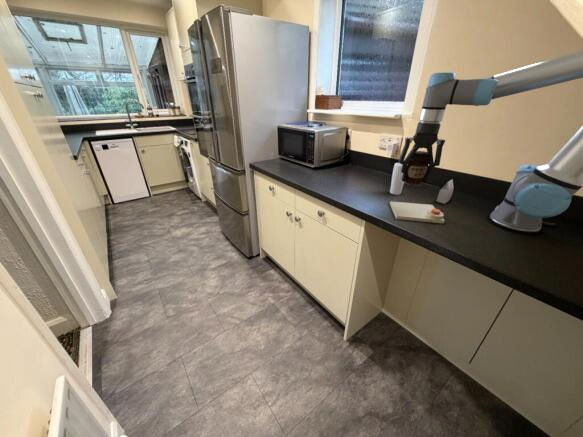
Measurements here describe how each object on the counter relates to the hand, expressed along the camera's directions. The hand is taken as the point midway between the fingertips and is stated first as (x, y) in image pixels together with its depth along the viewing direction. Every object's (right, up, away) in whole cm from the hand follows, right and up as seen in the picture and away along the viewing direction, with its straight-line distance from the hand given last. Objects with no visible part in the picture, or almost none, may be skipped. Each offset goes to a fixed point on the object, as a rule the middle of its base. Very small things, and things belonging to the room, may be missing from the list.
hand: (413, 181), depth 96 cm
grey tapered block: (+22, -7, +16) cm, 28 cm away
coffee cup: (0, -1, +1) cm, 1 cm away
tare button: (+7, -13, -3) cm, 16 cm away
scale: (+2, -13, +4) cm, 14 cm away
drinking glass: (+3, -3, +23) cm, 24 cm away
